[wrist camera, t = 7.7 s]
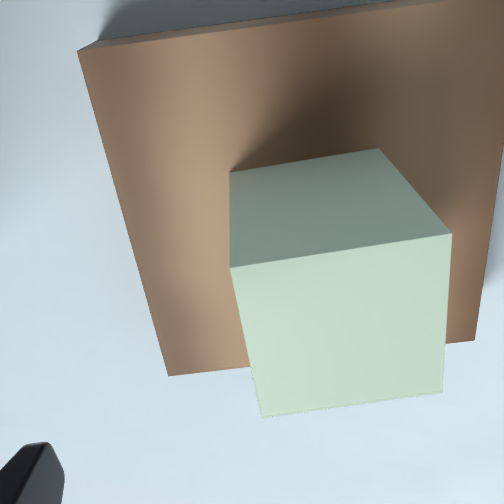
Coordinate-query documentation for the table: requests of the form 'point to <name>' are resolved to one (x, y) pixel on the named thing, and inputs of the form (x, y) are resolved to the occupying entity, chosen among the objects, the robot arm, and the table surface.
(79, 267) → the table surface
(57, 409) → the table surface
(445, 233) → the sage block
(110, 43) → the walnut base
